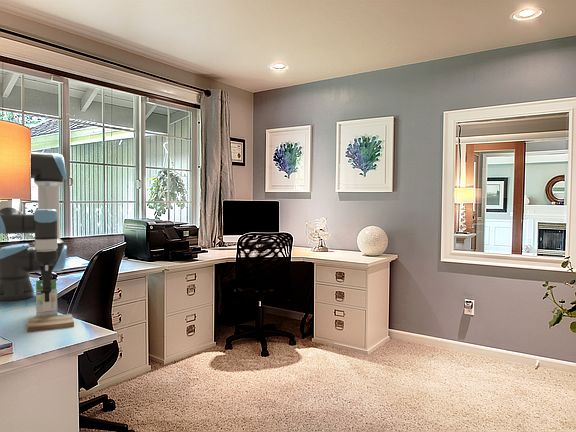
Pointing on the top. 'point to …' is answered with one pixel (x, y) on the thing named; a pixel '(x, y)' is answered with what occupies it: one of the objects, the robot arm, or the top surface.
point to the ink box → (40, 300)
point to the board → (50, 322)
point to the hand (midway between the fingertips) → (46, 306)
